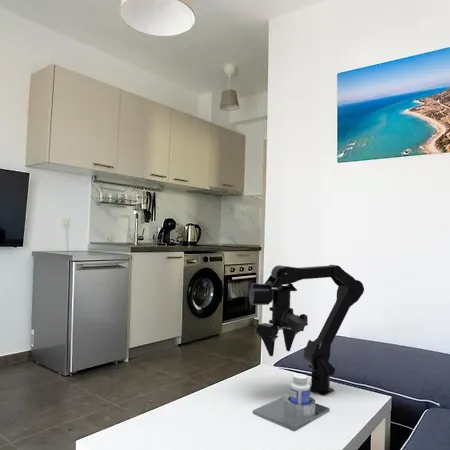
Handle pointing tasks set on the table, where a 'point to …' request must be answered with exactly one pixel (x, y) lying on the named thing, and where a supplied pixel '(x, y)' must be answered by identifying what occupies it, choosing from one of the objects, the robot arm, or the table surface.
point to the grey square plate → (291, 412)
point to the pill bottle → (300, 390)
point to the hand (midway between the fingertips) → (279, 353)
